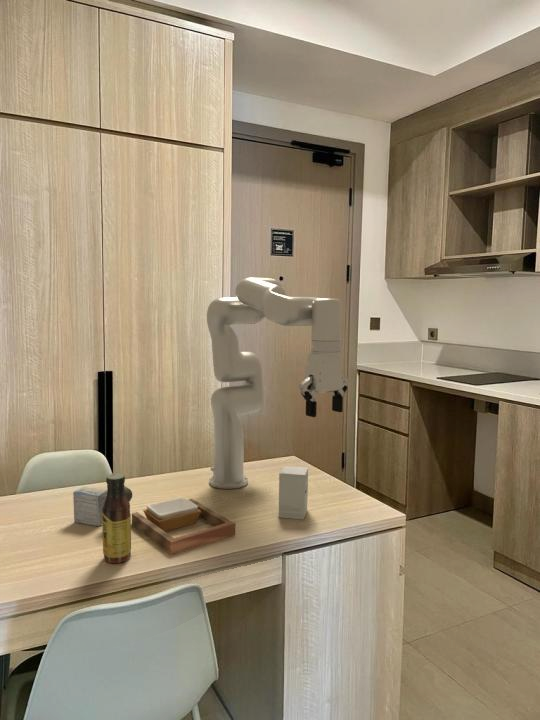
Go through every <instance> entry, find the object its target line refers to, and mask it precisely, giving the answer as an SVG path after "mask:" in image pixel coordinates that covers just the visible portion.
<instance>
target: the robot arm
mask: <svg viewBox="0 0 540 720" xmlns="http://www.w3.org/2000/svg"><path fill="white" fill-rule="evenodd" d="M234 292H235V296H230V297H229V296H226V297H219V298H216V299H213V300H212V301H211V302H210V303H209V305H208V307H207V311H206V322H207V323H206V324H207V328H208V331H209V335H210V338H211V349H212V350H211V352H212V365H213V367H212V368H213V373H214V377H215V379H216V380H217V381H218V382H220V383H235V382H242V384H241V385H231V386H223V387H220V388H218V389H216V390H215V391H214V392H213V393H212V394H211V397H210V405H211V409H212V410H211V411H212V417H213V433H214V434H213V437H214V438H213V440H214V441H213V445H214V446H213V447H214V448H213V454H214V455H213V456H214V457H213V459H214V460H213V461H214V462H213V466H211V467H210V471H211V472H213V474H212V476H211V477H210V478H209V482H208V483H209V485H210V486H211V487H214V488H218V489H222V490H228V489H229V490H232V489H239V488H240V489H241V488H243V487H246V486H247V485H248V484H249V478H248V477H247V476H246V475H244V463H245V462H244V448H245V447H244V446H245V445H244V439H245V438H244V437H245V436H244V427H243V425H242V423H241V421H240V420H239V418H238V417H239V416H243V415H249V414H255V413H257V412H259V411H260V410H261V409H262V407H263V405H264V385H263V384H264V383H263V369H262V364H261V360H260V359H259V357H258V356H257V354H256V353H254V352H252V351H240V346H239V337H238V335H237V333H236V331H234V329H233V328H232V327H231V325H256V324H259V323H260V322H261V321H262V320H264V319H265V318H266V320H268V321H270V322H273V323H276V324H279V325H280V326H285V327H311V333H310V334H311V341H310V345H311V347H310V352H309V353H308V354H307V360H306V364H305V365H306V367H305V375H304V380H302V381H301V382H300V383H299V384H298V388H299V389H300V394H301V396H302V397H303V401H305V416H307V417H312V418H316V417H317V401H316V398H317V397H318V395H319V394H324V393H330V392H332V393H333V395H332V396H331V397H332V398H331V399H332V400H331V411H333V412H336V413H337V412H338V413H343V407H344V406H343V405H344V397H345V396H346V391H347V389H348V386H349V383H350V378H348V377H347V376H346V375H344V361H343V360H344V359H343V354H342V345H343V344H342V324H343V323H342V321H343V320H342V319H343V303H342V301H341V299H339V298H329V297H328V298H326V297H324V298H323V297H322V298H320V297H313V296H310V297H309V296H287V295H286V291H285V290H284V288H283V287H282V285H281V283H280V282H279V281H278V280H277V279H274V278H270V277H246V278H243V279H241V280H240V281H239V282H238V283H237V284H236V287H235V290H234Z"/></svg>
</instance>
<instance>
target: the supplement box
mask: <svg viewBox="0 0 540 720" xmlns="http://www.w3.org/2000/svg"><path fill="white" fill-rule="evenodd" d="M278 475H279V476H278V480H279V481H278V511H277V513H278V516H277V517H278V518H284V519H292V520H293V519H294V520H304V519H305V516H306V513H307V510H308V494H309V493H308V491H309V489H308V487H309V467H304V466H290V465H289V466H288V465H283V466H282V468H281V470H280V472H279V473H278Z"/></svg>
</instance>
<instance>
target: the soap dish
mask: <svg viewBox="0 0 540 720" xmlns="http://www.w3.org/2000/svg"><path fill="white" fill-rule="evenodd" d="M188 499H189V498H188ZM188 499H187V498H186V497H178V498H173V499H167V500H163V501H158V502H153V503H149V504H148V505H146V509H143V510H142V511H143V514H144V515H145V516H144V517H145V518H146V519H148V520H149V521H151V522H152V523H153V524H155V525H156V526H158V527H159V528H160V529H162V530H163V531H165V532H167V531H170V530H174V529H178V528H182V527H186V526H189V525H194V524H196V523H197V522H198V521H199V519H200V518H199V516H200V513H201V510H199V509H198V506H197V505H196V504H194V503H192V502H191V501H189V500H188Z"/></svg>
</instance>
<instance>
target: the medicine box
mask: <svg viewBox="0 0 540 720" xmlns="http://www.w3.org/2000/svg"><path fill="white" fill-rule="evenodd" d="M72 494H73V519H74V523H77V524H83V525H88V526H95V527H102V509H103V506H104V503H105V500H106V497H107V489H103V488H94V487H89V486H88V487H87V486H83V487H80V488H78V489H76V490H74V491H73V493H72Z"/></svg>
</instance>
